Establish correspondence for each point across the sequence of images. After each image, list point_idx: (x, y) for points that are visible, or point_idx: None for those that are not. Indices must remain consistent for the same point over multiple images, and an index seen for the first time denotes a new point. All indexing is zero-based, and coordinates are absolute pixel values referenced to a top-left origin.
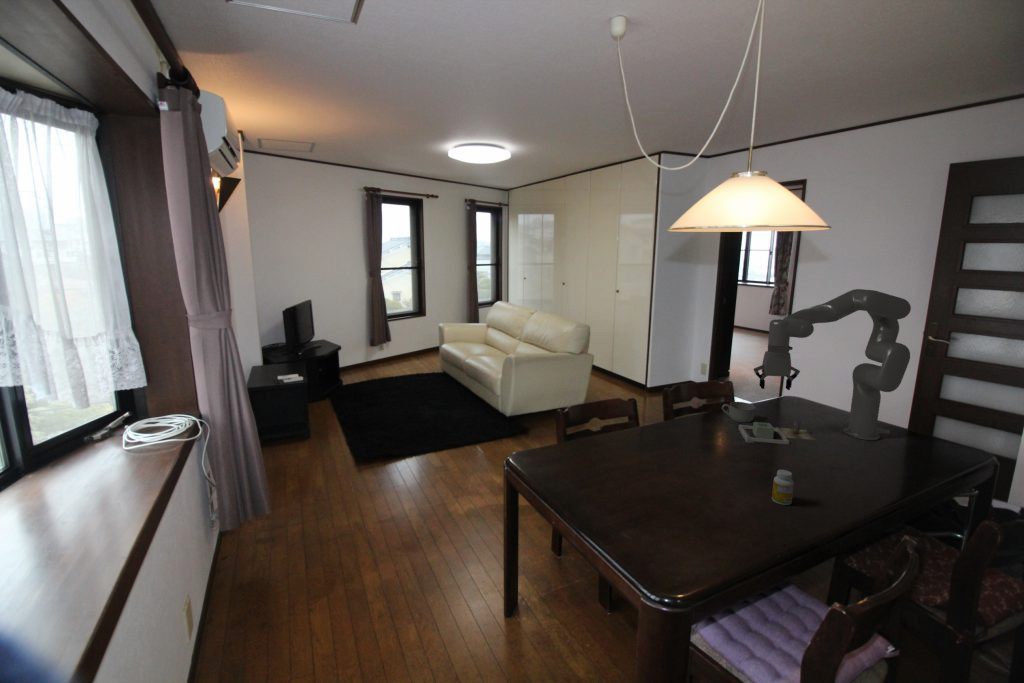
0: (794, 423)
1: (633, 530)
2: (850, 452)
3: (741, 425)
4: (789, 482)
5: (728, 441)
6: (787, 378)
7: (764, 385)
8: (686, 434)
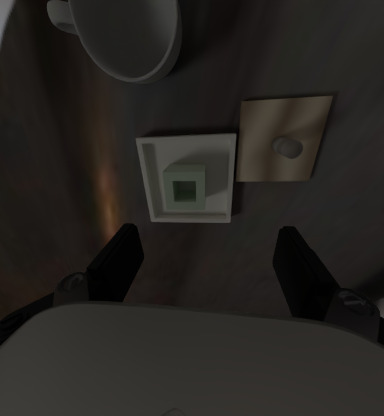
0: (281, 150)
1: None
2: (345, 218)
3: (141, 143)
4: None
5: (123, 217)
6: (321, 307)
7: (135, 273)
8: (49, 202)
